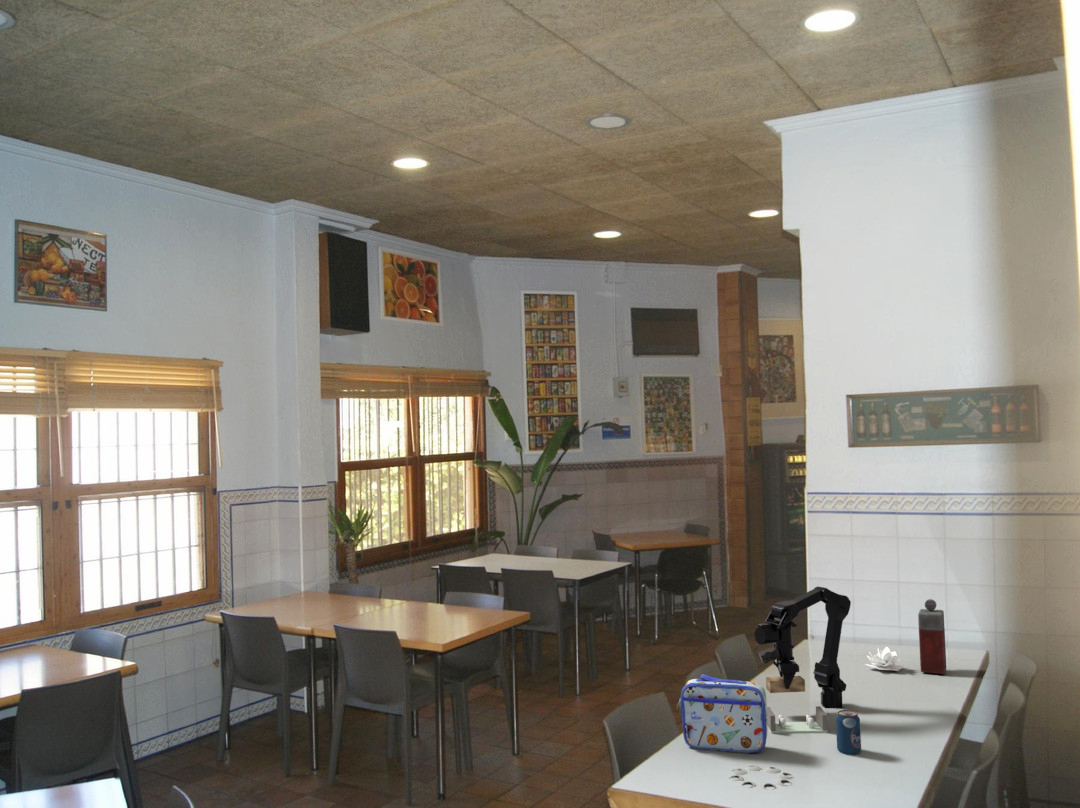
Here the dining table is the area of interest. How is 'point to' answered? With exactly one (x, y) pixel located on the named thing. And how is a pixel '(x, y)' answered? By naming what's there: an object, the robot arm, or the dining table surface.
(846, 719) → the soda can
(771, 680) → the shelf block
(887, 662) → the lotus flower
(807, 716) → the peg cradle
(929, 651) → the red decanter bottle
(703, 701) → the lunch box
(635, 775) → the dining table surface
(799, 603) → the robot arm
